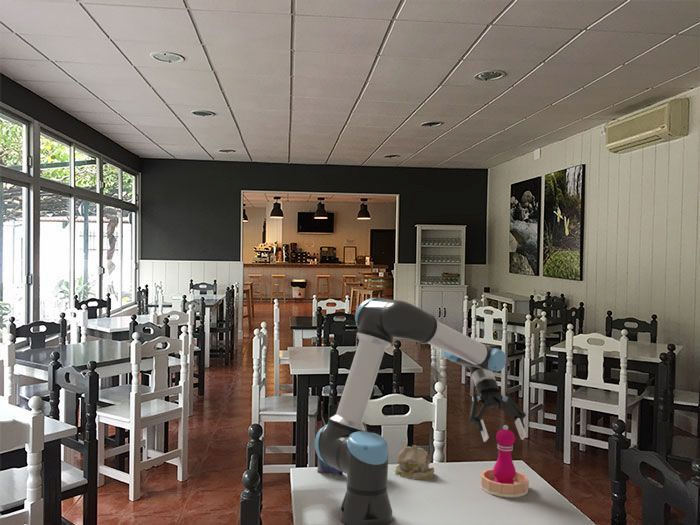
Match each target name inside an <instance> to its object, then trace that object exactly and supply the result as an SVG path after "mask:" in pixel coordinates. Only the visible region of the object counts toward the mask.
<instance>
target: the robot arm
mask: <svg viewBox="0 0 700 525" xmlns="http://www.w3.org/2000/svg"><path fill="white" fill-rule="evenodd" d="M354 320H355V325H356V327H357V332H356V336H357V338H358V344H357V347H356V350H355V354H354V356H353V360H352V363H351V366H350V368H349V373H348V375H347V379H346V381H345V385H344V387H343V391H342V394H341V397H340V400H339V404H338V406H337V410H336V413H335V414H334V415H332V416H330V417H329V420H328V422H327V424H325V425H323V426H322V427H321V428H319V430H318V431H317V433H316V436H315V439H314V450H315V453H316V455H317V458H318V457H319V458H320V459H321V460H322V461H323V462H325V463H326V464H327V465H328V466H331V467H334V468H336V469H338V470H340V471H341V472H343V474H346V491H345V494H344V496H343V500H342V503H341V505H340V509H339V511H340V512H339V519H340V521H341V522H342V523H343V524H345V525H390V524H391V523H392V521H393V508H392V505H391V502H390V498H389V494H388V473H389V472H388V471H389V455H390V453H389V446H388V441H387V440H386V439H385V437H383V436H381V435H380V434H378V433H375V432H370V431H367V432H366V431H365V428H364V426H363V423H362V422H364V419H365V418H364V417H365V416H366V412H367V409H368V406H369V403H370V399H371V396H372V393H373V390H374V386H375V382H376V379H377V377H378V373H379V370H380V366H381V363H382V361H383V356H384V354H385V350H386V349H388V348H389V347H391V346H392V344H393V341H394V339H400V340H409V341H412V342H416V343H418V344H420V345H426V344H428V345H430V346H433V347H435V348H438V349H439V350H441V351H443V355H444V357H445V358H446V359H447V360H449V361H450V362H453V363H454V364H457V365H461V366H463V367H464V368H467V369H469V371H470V374H471V378H472V381H473V383H474V386H475V390H476V392H477V394H476V393H474V394H473V395H472V397H471V398H470V400H471V407H470V412H469V418H468V421H469V422H470V423H473V424H474V425H476V429H477V432H480V434H481V436H482V440H483V443H484V442H487V441H488V439H489V438H490V437H489V436H490V435H489V433H488V430H487V428H486V424H485V422H484V419H482V416H483V415H484V413H485V410H486V409H487V408H488V409H499V410H502V411H504V413H506V414H507V415H509V417H511V418H512V419H514V424H515V427H516V429H517V432H518V435H519V438H520V440H524V439H525V438H526V437H527V433H526V431H525V427H526V426H525V423H524V421H523V420H524V419H525V418H526V417H527V414H526V412H525V411H523V409H522V408H521V407H520V406H519V405H518V404H517V403H516V402H515V401H514V400H513V399H512V396H511V395H510V393H509V392H507V393H505V394H501V392H500V388H499V386H498V383H497V380H496V377H495V374H494V372H495V373H496V372H501V371H502V370H503V369H504V368H505V367H506V363H507V356H506V354H505V352H504V351H503V350H502V349H498V348H495V347H494V348H493V347H490V346H488V345H486V344H484V343H482V342H479V341H478V340H476V339H474V338H472V337H470V336H468V335H466V334H464V333H462V332H459V331H458V330H456V329H453V328H451V327H450V326H448V325H446V324H444V323H442V322H440V321H438V319H437V318H436V316H434V315H433V314H432V313H429V312H427V311H426V310H424V309H421V307H418V306H416V305H414V304H412V303H409V302H407V301H404V300H398V299H397V300H396V299H390V298H389V299H388V298H383V297H372V298H368V299H365V300H364V301H363V302H361V303H360V304H359V305H358V307H357V310H356V311H355V315H354ZM478 402H481V403H482V406H481V407H480V410H479V411H478V414H477V408H478ZM476 414H477V415H476Z"/></svg>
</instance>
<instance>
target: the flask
mask: <svg viewBox="0 0 700 525" xmlns="http://www.w3.org/2000/svg"><path fill="white" fill-rule="evenodd" d="M316 471H317V472H318V473H321V474H326V475H334V474H335V475H334V476H343V474H344V473H343V472H341V471H340V470H338V469H336V468H334V467H331V466H328V465H327V464H326V463H325V462H323V461H322V460H321V459H320V458H319V457H318V456H317V468H316Z"/></svg>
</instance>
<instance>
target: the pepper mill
mask: <svg viewBox="0 0 700 525" xmlns="http://www.w3.org/2000/svg"><path fill="white" fill-rule="evenodd" d="M495 439H496V442H497V449H498V455H497V456H498V457H497V459H496V461H495V464H494V465H493V468H494V469H493V468H492V469H493V473H494V475H495V477H496V478H495V479H494V482H498V483H502V484H514V480H513V478H514V477H515V476H516V471H517V470H516V467H515V465H514V461H513V458H512V451H513V450H514V449H513V447H514V445H513V444H514V443H515V440H516V437H515V433H514V432H513V431H511V430H510V429H509V426H508V425H507V424H504V425H503V426H502V429H500V430H498V431H497V432H496V435H495Z"/></svg>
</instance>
